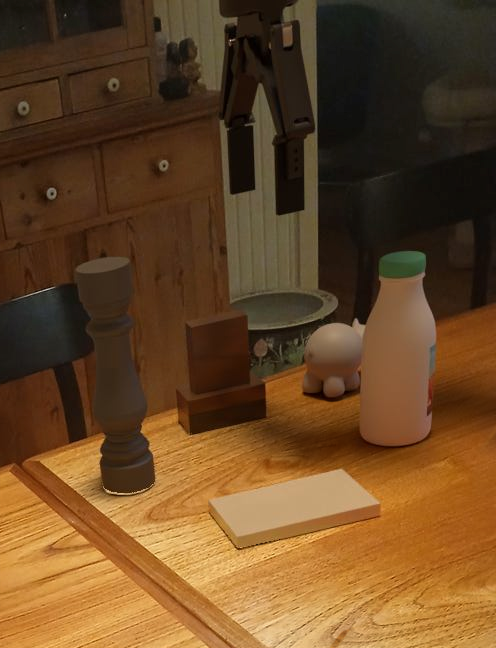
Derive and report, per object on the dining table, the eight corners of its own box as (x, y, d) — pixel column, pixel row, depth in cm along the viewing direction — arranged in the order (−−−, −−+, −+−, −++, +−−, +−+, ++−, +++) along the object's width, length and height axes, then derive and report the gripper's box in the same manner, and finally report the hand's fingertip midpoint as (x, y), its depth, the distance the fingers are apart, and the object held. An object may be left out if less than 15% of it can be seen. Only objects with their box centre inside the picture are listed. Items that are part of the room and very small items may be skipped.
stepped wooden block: (252, 404, 128) (248, 303, 121) (266, 417, 124) (263, 314, 117) (178, 421, 128) (169, 321, 120) (190, 434, 124) (182, 332, 116)
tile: (341, 480, 107) (342, 468, 106) (380, 515, 99) (381, 502, 98) (208, 512, 106) (207, 499, 105) (237, 549, 99) (237, 536, 98)
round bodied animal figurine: (401, 375, 127) (404, 309, 123) (333, 405, 123) (334, 338, 119) (358, 364, 133) (360, 300, 128) (292, 393, 129) (291, 328, 124)
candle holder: (153, 468, 117) (130, 252, 104) (157, 491, 112) (134, 267, 98) (101, 476, 118) (72, 262, 104) (103, 499, 113) (73, 277, 99)
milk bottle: (416, 451, 109) (427, 267, 98) (348, 443, 114) (352, 266, 103) (440, 423, 114) (453, 245, 103) (373, 417, 118) (379, 245, 107)
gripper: (180, -25, 103) (194, 191, 115) (269, -35, 82) (275, 230, 94) (249, -40, 103) (256, 177, 115) (355, -53, 82) (351, 213, 94)
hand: (265, 202), depth 104 cm, fingers open, 13 cm apart
